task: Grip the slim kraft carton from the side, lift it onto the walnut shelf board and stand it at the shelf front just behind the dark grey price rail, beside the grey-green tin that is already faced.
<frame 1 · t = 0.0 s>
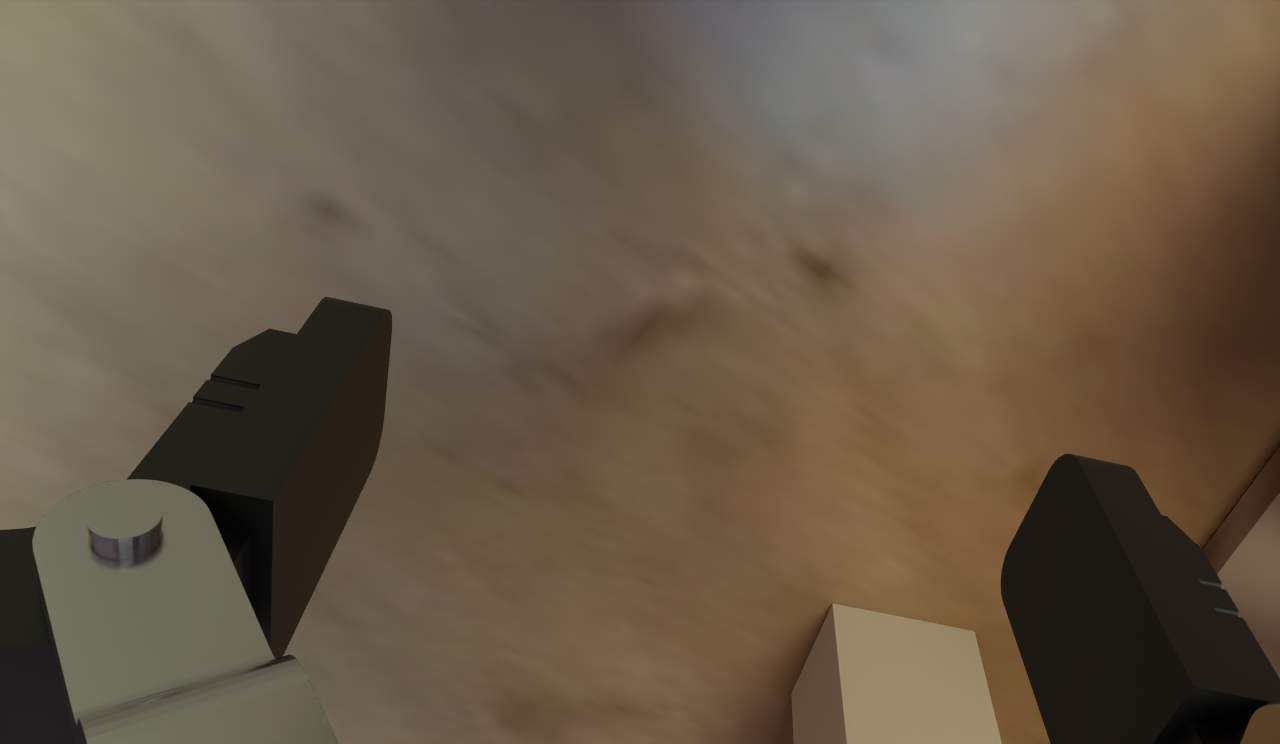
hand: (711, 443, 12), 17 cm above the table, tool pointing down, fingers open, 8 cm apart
kraft carton: (879, 663, 40), on the table
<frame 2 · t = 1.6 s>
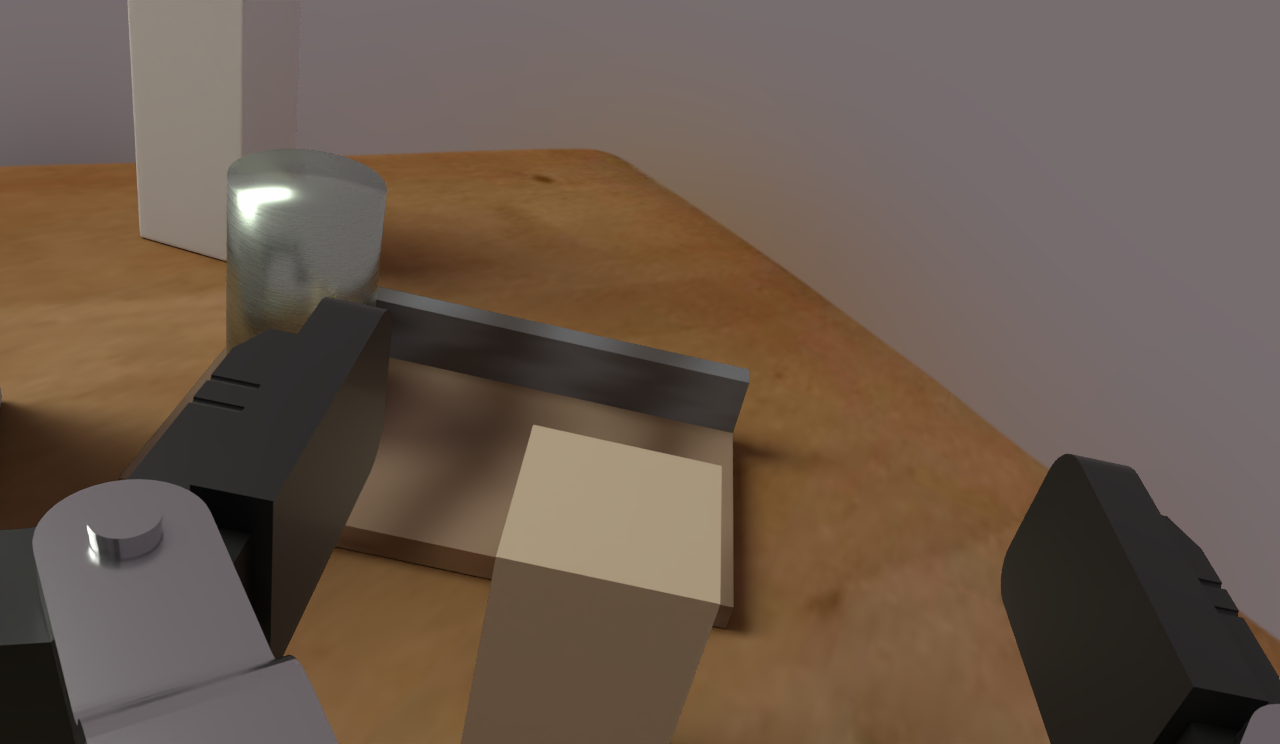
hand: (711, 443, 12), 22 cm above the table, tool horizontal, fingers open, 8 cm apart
oat tin: (298, 386, 46), point 1 cm above the table, touching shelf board
milk: (219, 234, 58), on the table
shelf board: (464, 465, 46), on the table
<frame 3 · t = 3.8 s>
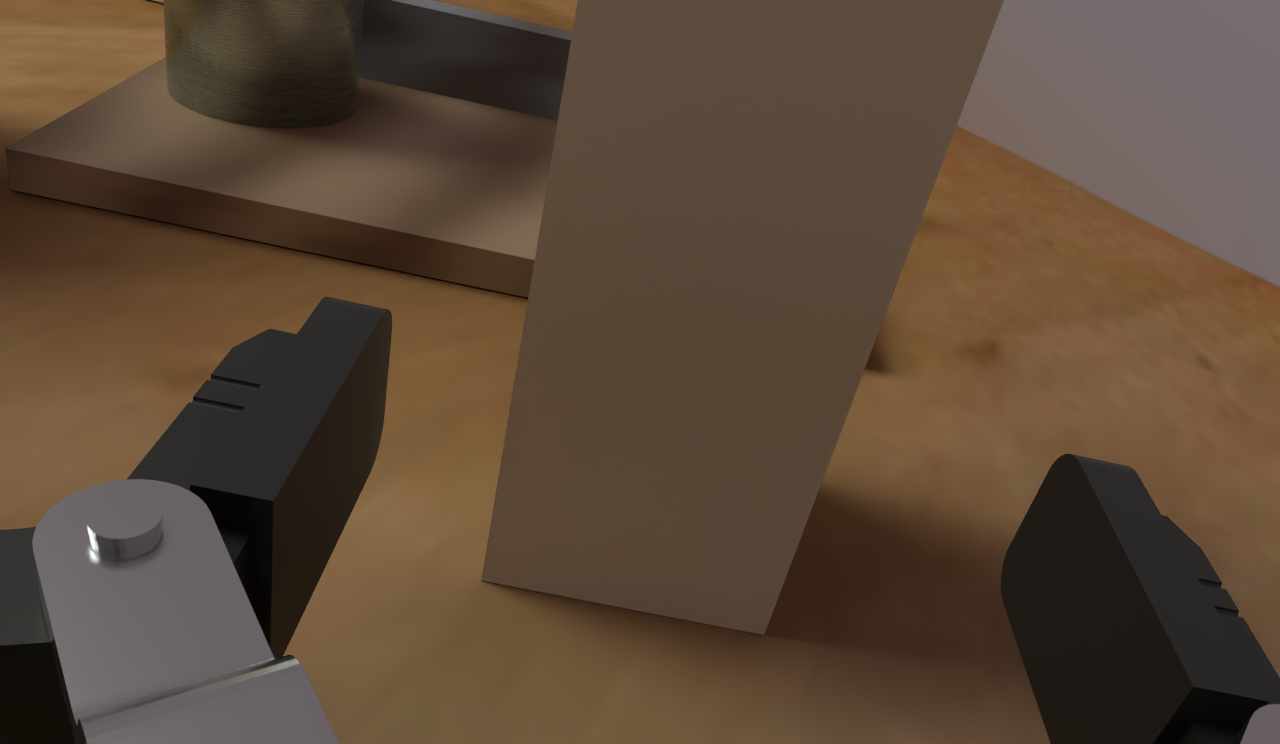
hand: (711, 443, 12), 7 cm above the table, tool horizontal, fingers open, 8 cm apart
oat tin: (265, 93, 35), point 1 cm above the table, touching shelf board
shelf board: (486, 194, 34), on the table
kraft carton: (633, 516, 22), on the table
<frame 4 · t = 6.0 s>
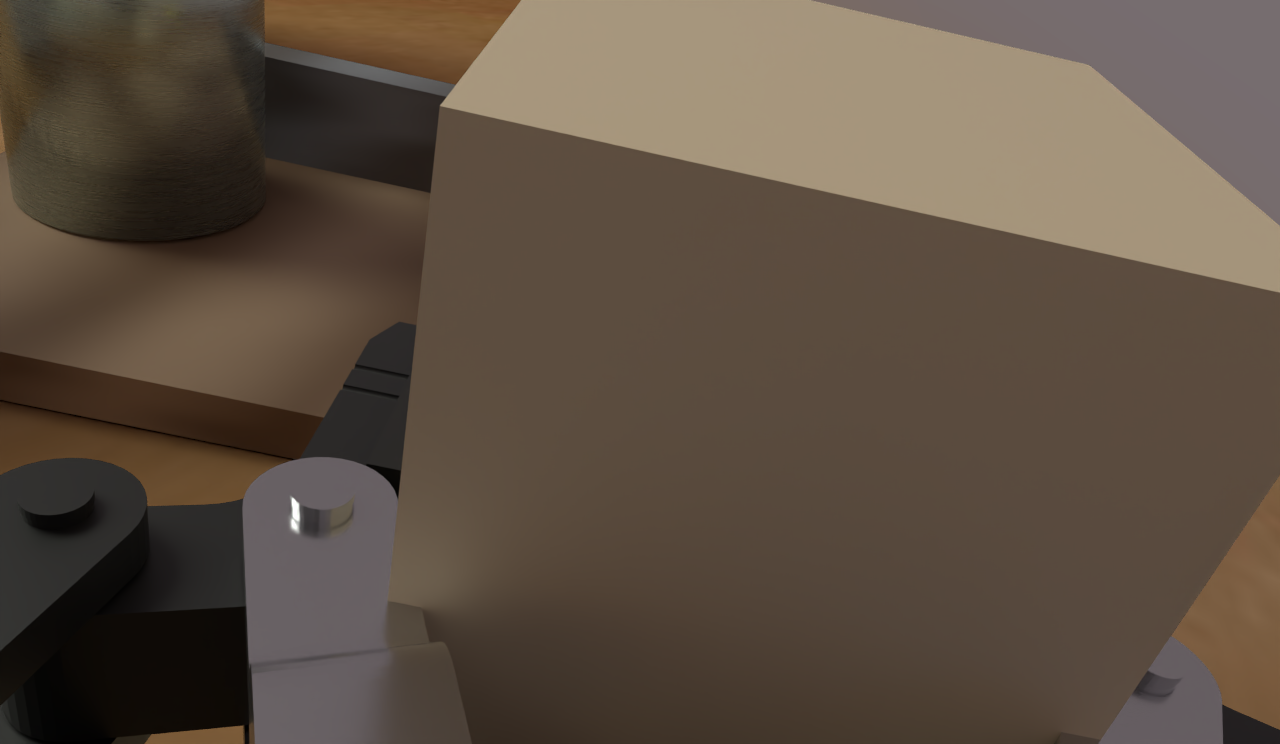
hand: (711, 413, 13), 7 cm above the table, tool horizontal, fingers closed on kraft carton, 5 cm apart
oat tin: (144, 189, 27), point 1 cm above the table, touching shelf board
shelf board: (426, 321, 27), on the table
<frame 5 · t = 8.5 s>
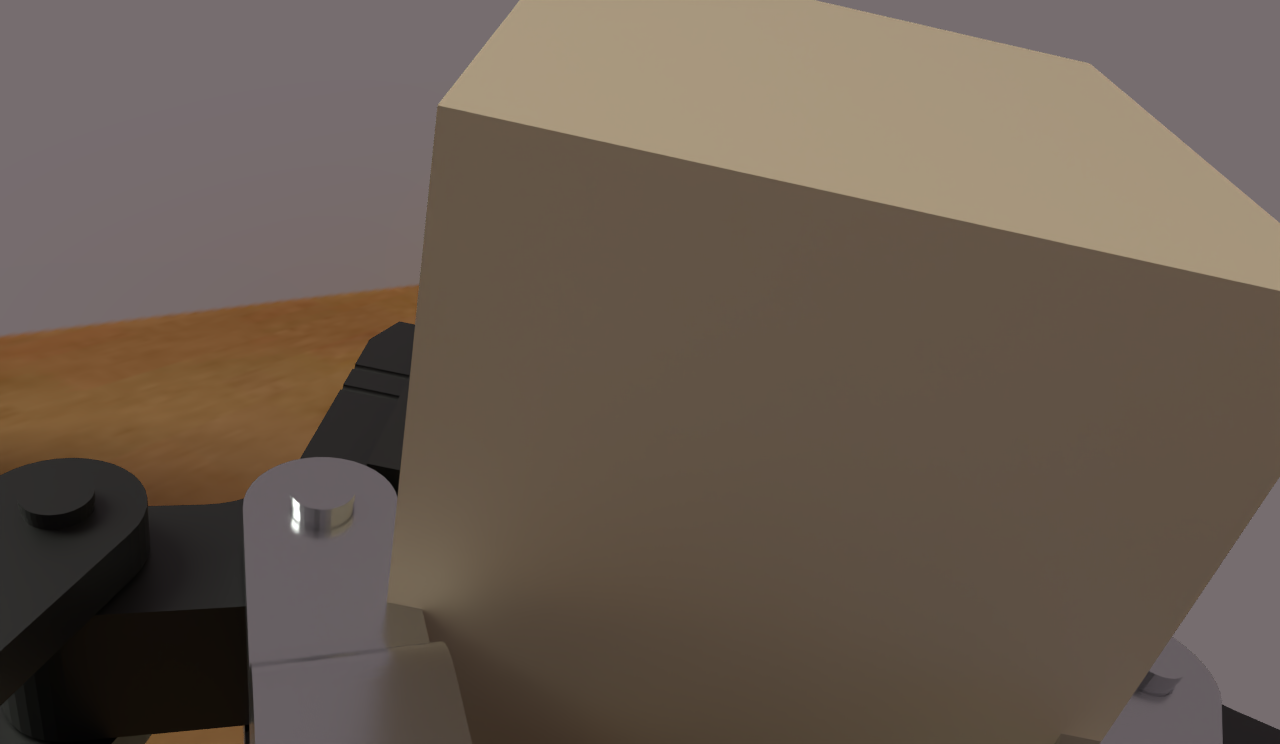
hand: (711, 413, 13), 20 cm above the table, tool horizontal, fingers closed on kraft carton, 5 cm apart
when the fingers open (10 cm above the table, at t = 10.9 s): kraft carton drops 1 cm, resting on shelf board.
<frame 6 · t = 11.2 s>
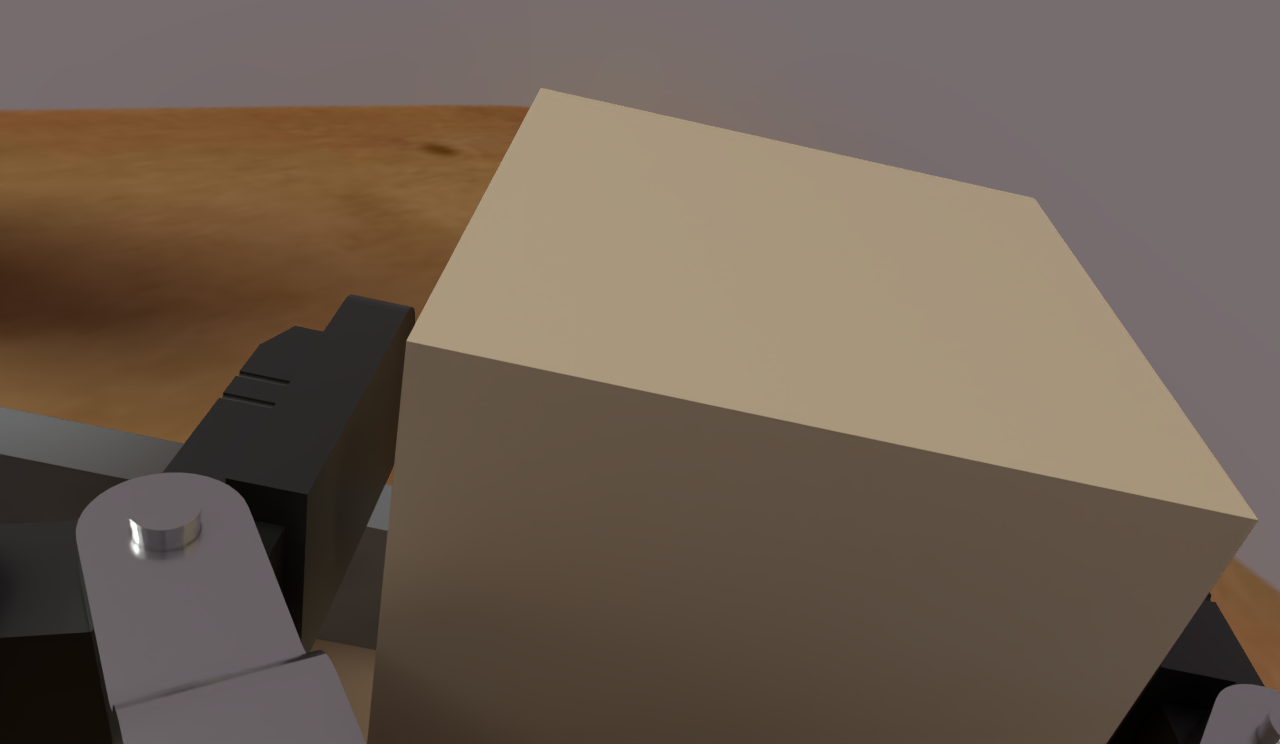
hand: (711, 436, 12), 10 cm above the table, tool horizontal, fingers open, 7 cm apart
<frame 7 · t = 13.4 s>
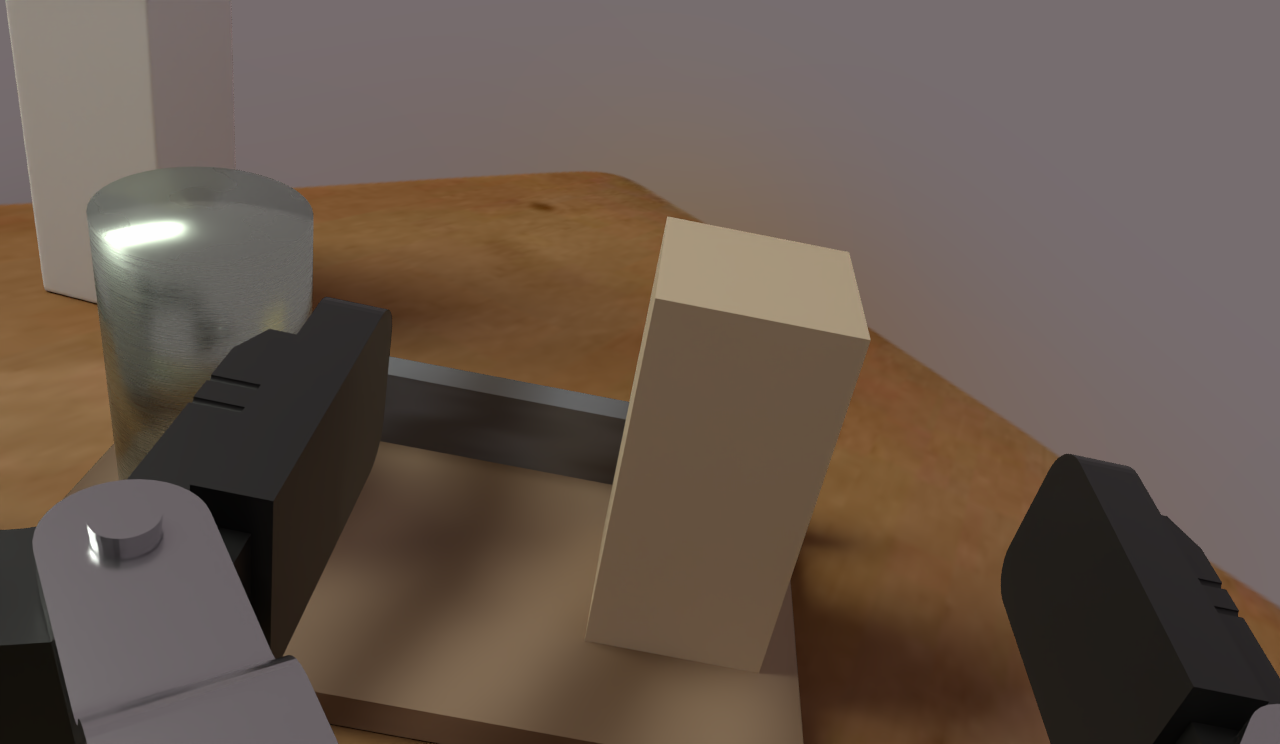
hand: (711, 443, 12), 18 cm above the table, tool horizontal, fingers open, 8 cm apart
oat tin: (217, 476, 35), point 1 cm above the table, touching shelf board
milk: (146, 283, 48), on the table
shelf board: (435, 577, 35), on the table
kraft carton: (676, 595, 34), point 1 cm above the table, touching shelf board
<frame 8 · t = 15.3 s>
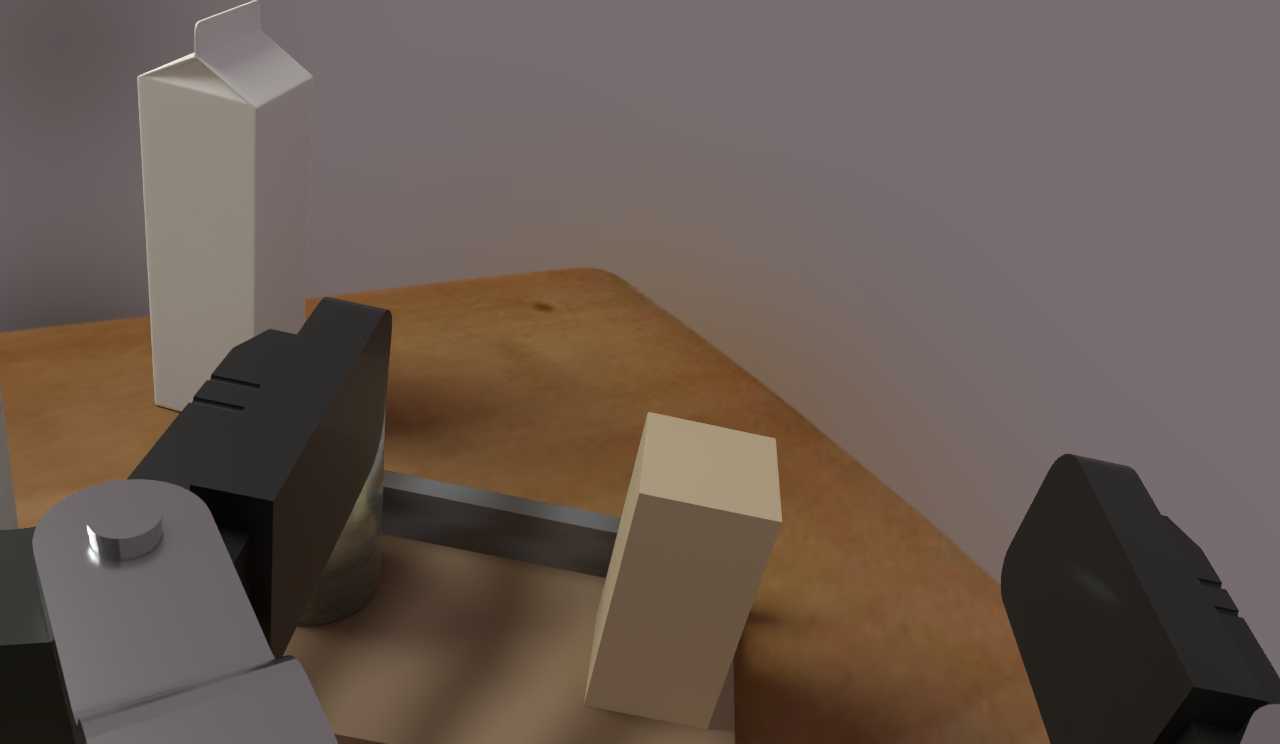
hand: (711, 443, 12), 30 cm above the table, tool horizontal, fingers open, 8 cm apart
oat tin: (313, 576, 47), point 1 cm above the table, touching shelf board
milk: (231, 395, 60), on the table
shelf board: (474, 653, 47), on the table
kraft carton: (649, 669, 47), point 1 cm above the table, touching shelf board
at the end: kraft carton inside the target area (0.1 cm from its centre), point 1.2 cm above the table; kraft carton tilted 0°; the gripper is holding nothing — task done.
